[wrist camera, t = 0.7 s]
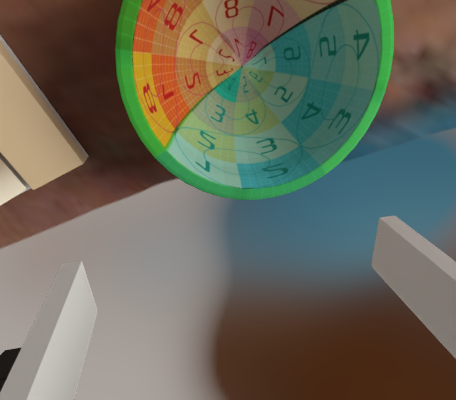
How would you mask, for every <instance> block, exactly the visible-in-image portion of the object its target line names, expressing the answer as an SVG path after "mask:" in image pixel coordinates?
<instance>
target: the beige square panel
mask: <svg viewBox="0 0 456 400" xmlns="http://www.w3.org/2000/svg"><path fill="white" fill-rule="evenodd" d="M24 190H26V187H25V186H24V185H23V184H22V183H21V182H20V180H19V179H18V178H17V177H16V176H15V175H14V174H13V173H12V171H11V170H10V169H9V168H8V167H7V166H6V165H5V163H4V162H3V161H2V160H1V159H0V205H2V204H4V203H5V202H7V201H8V200H10V199H12V198H13V197H15V196H16V195H18V194H20V193H21V192H23V191H24Z"/></svg>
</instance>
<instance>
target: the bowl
mask: <svg viewBox="0 0 456 400" xmlns="http://www.w3.org/2000/svg"><path fill="white" fill-rule="evenodd" d="M393 50H394V22H393V15H392V8H391V1H390V0H123V1H122V5H121V9H120V13H119V17H118V21H117V30H116V41H115V59H116V75H117V79H118V84H119V89H120V93H121V98H122V101H123V104H124V106H125V109H126V111H127V114H128V117H129V119H130V122H131V123H132V125H133V127H134V129H135V131H136V132H137V134H138V136H139V138H140V139H141V141H142V142H143V144H144V145H145V146H146V147H147V149H148V150H149V151H150V153H151V154H152V155H153V156H154V158H155V159H156V160H157V161H159V162H160V163H161V164H162V165H163V166H164V167H165V168H166V169H167V170H168V171H169V172H170V173H172V174H173V175H175V176H176V177H178V178H179V179H181V180H182V181H184V182H185V183H187V184H189V185H191V186H193V187H195V188H197V189H199V190H202V191H204V192H207V193H210V194H213V195H216V196H220V197H225V198H232V199H239V200H243V199H244V200H253V199H254V200H257V199H264V198H271V197H277V196H280V195H283V194H287V193H290V192H293V191H296V190H298V189H300V188H302V187H305V186H307V185H309V184H311V183H312V182H314V181H316V180H317V179H319V178H320V177H322V176H324V175H325V174H327V173H328V172H329V171H330V170H332V169H333V168H334V167H335V166H336V165H338V164H339V163H340V162H341V161H342V160H343V159H344V158H345V157H346V156H347V155H348V154H349V153H350V152H351V151H352V150H353V149H354V147H355V146H356V145H357V143H358V142H359V141H360V139H361V138H362V137H363V135H364V134H365V132H366V131H367V129H368V128H369V126H370V124H371V122H372V120H373V119H374V117H375V115H376V113H377V111H378V109H379V106H380V104H381V101H382V99H383V96H384V94H385V91H386V87H387V83H388V79H389V76H390V72H391V65H392V58H393Z"/></svg>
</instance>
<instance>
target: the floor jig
mask: <svg viewBox="0 0 456 400" xmlns="http://www.w3.org/2000/svg"><path fill="white" fill-rule="evenodd" d="M88 157H89V156H88V154H87V153H86V152H85V150H84V149H83V147H82V146H81V145H80V143H79V142H78V141H77V139H76V138H75V136H74V135H73V134H72V132H71V131H70V130H69V128H68V127H67V125H66V124H65V123H64V121H63V120H62V119H61V117H60V116H59V115H58V113H57V112H56V110H55V109H54V108H53V106H52V105H51V104H50V102H49V101H48V99H47V98H46V97H45V95H44V94H43V93H42V91H41V90H40V88H39V87H38V86H37V84H36V83H35V82H34V80H33V79H32V78H31V76H30V75H29V73H28V72H27V71H26V69H25V68H24V67H23V65H22V64H21V62H20V61H19V60H18V58H17V57H16V56H15V54H14V53H13V51H12V50H11V49H10V47H9V46H8V45H7V43H6V42H5V41H4V39H3V38H2V36H1V35H0V159H1V160H2V161H3V162H4V163H5V165H6V166H7V167H8V168H9V169H10V170H11V171H12V173H13V174H14V175H15V176H16V177H17V178H18V179H19V180H20V182H21V183H22V184H23V185H24V186H25V187H26V190H24V191H23V192H25V191H27V190H29V189H30V188H32V189H33V190H35V189H37V188H39V187H40V186H42V185H44V184H46V183H48V182H50V181H52V180H54V179H56V178H57V177H59V176H61V175H63V174H65V173H67V172H69V171H71V170H73V169H75V168H76V167H78V166H80V165H82V164H84V162H85V161H86V160H87V158H88ZM23 192H21V193H23ZM21 193H20V194H21ZM18 195H19V194H18ZM16 196H17V195H16Z"/></svg>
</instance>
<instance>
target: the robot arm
mask: <svg viewBox="0 0 456 400" xmlns="http://www.w3.org/2000/svg"><path fill="white" fill-rule="evenodd" d="M372 267H373V269H375V271H376V272H377V273H378V274H379V275H380V276H381V277H382V278H383V279H384V281H385V282H386V283H387V284H388V285H389V286H390V287H391V288H392V289H393V291H394V292H395V293H396V294H397V295H398V296H399V297H400V298H401V299H402V300H403V301H404V303H405V304H406V305H407V306H408V307H409V308H410V309H411V310H412V311H413V312H414V313H415V315H416V316H417V317H418V318H419V319H420V320H421V321H422V322H423V323H424V324H425V326H426V327H427V328H428V329H429V330H430V331H431V332H432V333H433V334H434V335H435V336H436V337H437V339H438V340H439V341H440V342H441V343H442V344H443V345H444V346H445V348H446V349H447V350H448V351H449V352H450V353H451V354H452V355H453V356H454V357H455V358H456V262H455V261H454V260H453V259H451V258H450V257H449V256H447V255H446V254H445V253H443V252H442V251H441V250H439V249H438V248H437V247H436V246H434V245H433V244H432V243H430V242H429V241H428V240H426V239H425V238H424V237H422V236H421V235H420V234H418V233H417V232H416V231H414V230H413V229H412V228H411V227H409V226H408V225H407V224H405V223H404V222H403V221H401V220H400V219H399V218H397V217H396V216H388V217H382V218H379V223H378V229H377V235H376V242H375V248H374V254H373V260H372ZM97 312H98V310H97V307H96V304H95V301H94V298H93V294H92V291H91V288H90V285H89V282H88V279H87V276H86V273H85V269H84V267H83V263H82V261H76V262H69V263H63V264H62V265H61V267H60V269H59V271H58V273H57V275H56V277H55V279H54V282H53V284H52V286H51V288H50V290H49V292H48V294H47V296H46V298H45V300H44V302H43V304H42V306H41V309H40V311H39V313H38V315H37V317H36V319H35V321H34V323H33V325H32V327H31V330H30V331H29V333H28V336H27V338H26V340H25V342H24V344H23V346H22V348H17V349H11V350H5V351H4V352H3V353H2V354H1V355H0V400H74V399H75V396H76V392H77V388H78V384H79V380H80V376H81V373H82V369H83V365H84V361H85V357H86V354H87V350H88V346H89V342H90V338H91V335H92V331H93V327H94V323H95V319H96V315H97Z"/></svg>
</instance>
